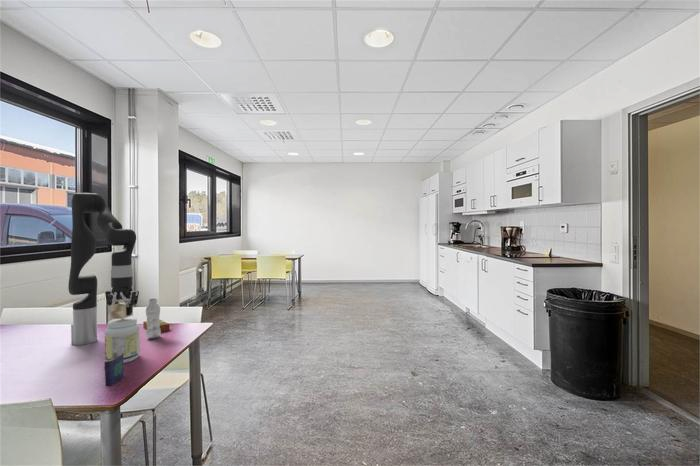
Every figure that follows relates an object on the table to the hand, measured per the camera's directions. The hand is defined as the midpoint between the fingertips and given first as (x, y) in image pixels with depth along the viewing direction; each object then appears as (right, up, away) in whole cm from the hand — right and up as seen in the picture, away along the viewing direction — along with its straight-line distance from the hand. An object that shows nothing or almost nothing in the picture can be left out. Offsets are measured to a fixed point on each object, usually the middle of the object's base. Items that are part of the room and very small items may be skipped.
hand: (122, 314), depth 138 cm
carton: (-11, -20, +42) cm, 48 cm away
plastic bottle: (-4, -19, +27) cm, 34 cm away
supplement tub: (0, -19, 0) cm, 19 cm away
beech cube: (0, -1, 0) cm, 1 cm away
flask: (+11, -19, -20) cm, 30 cm away
